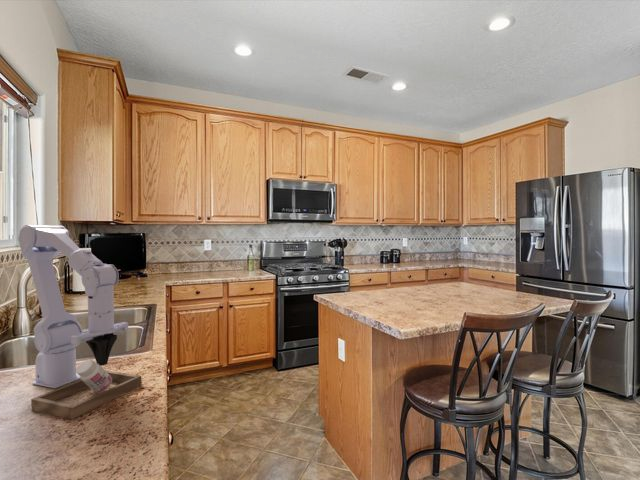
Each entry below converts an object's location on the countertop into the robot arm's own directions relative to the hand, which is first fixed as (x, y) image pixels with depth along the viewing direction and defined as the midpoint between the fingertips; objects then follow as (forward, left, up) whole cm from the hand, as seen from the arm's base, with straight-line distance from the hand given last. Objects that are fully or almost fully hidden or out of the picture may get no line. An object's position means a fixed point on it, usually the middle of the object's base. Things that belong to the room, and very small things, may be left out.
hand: (102, 364), depth 91 cm
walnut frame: (0, -3, -7) cm, 8 cm away
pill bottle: (0, 0, -6) cm, 6 cm away
